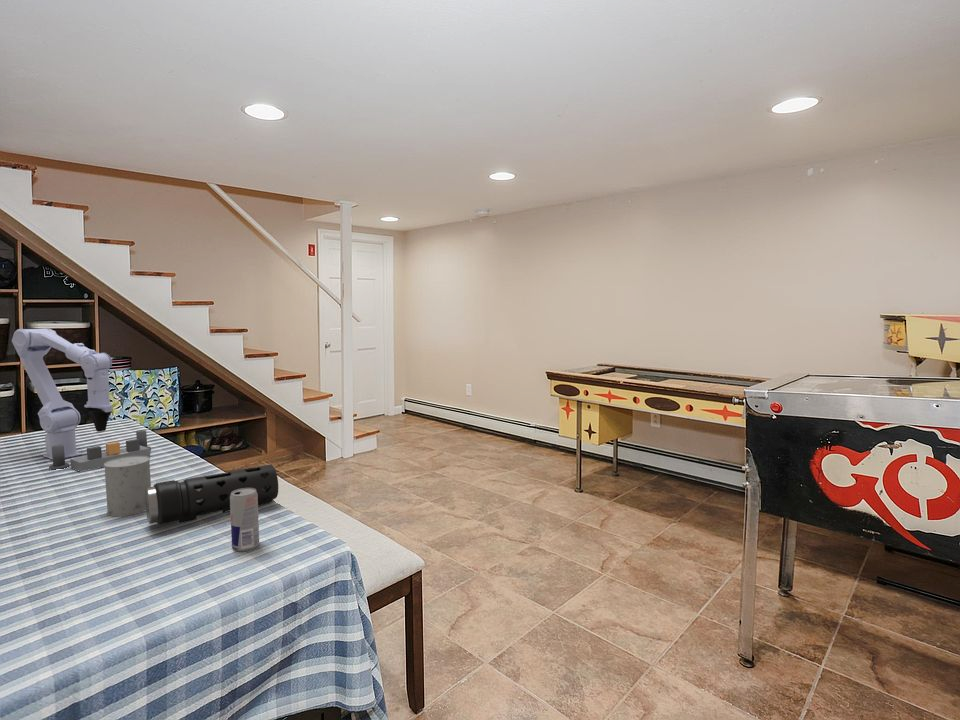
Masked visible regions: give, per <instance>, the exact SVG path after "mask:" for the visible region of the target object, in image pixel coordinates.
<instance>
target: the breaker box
mask: <svg viewBox="0 0 960 720" xmlns="http://www.w3.org/2000/svg"><path fill="white" fill-rule="evenodd" d="M128 456H147V457H149V458H151V451H150V448H147V447H144V446H141V445H140V443H139V439H137V438H134V439H130V440H129V439H128V440H125V447H124V448H120V453H119V454H114V455H107V454H106V451H104V452H103V451H102V446H100V445H97V446H91V447H87V448H86V455H84V456H80V457H79V456H77V457H74V458H70V469H71V468H74V469H76V470H79V471H83V470H88V469H93V468H98V467H103V466H104V463H105V462H107V461H110V460H113V459H117V458H122V457H128ZM103 468H104V467H103ZM74 469H73V470H74ZM98 469H99V468H98ZM76 470H75V471H76ZM93 470H94V469H93Z"/></svg>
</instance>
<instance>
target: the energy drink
mask: <svg viewBox="0 0 960 720" xmlns="http://www.w3.org/2000/svg"><path fill="white" fill-rule="evenodd" d="M229 512H230V531H231V532H230V534H231V536H230V537H231V548H232V550H234V551H236V552H247V551H251V550H254V549H255V548H257V547H258V546H259V544H260V529H259V528H260V524H259V521H260V520H259V505H258V494H257V492H256V489H254V488H241V489H237V490H234V491H232V492H231V495H230V510H229Z"/></svg>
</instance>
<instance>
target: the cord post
mask: <svg viewBox="0 0 960 720" xmlns="http://www.w3.org/2000/svg"><path fill="white" fill-rule="evenodd" d="M135 434H136V435H135V436H136V438H135V439H139V443H140V445H141V446H144V447H147V448H150V450H151V451H152V449H151V448H152V447H151V446H148V439H147V436H148V435H147V430H137V431H136V432H135Z"/></svg>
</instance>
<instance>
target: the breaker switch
mask: <svg viewBox="0 0 960 720" xmlns="http://www.w3.org/2000/svg"><path fill="white" fill-rule="evenodd" d="M120 444H121V443H120V442H119V441H113V442H108V443H105V452H106V454H107V455H114V454H119V453H120V449H121V445H120Z"/></svg>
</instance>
